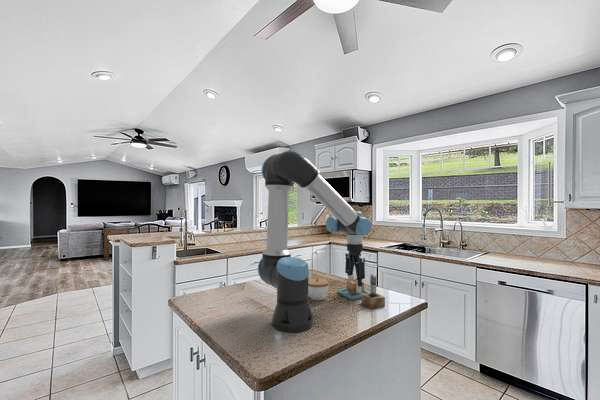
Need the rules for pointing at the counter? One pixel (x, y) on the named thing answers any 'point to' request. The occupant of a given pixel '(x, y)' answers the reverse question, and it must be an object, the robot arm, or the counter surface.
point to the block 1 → (353, 286)
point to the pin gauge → (373, 285)
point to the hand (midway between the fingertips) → (354, 290)
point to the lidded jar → (317, 288)
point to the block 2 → (373, 300)
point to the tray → (350, 295)
